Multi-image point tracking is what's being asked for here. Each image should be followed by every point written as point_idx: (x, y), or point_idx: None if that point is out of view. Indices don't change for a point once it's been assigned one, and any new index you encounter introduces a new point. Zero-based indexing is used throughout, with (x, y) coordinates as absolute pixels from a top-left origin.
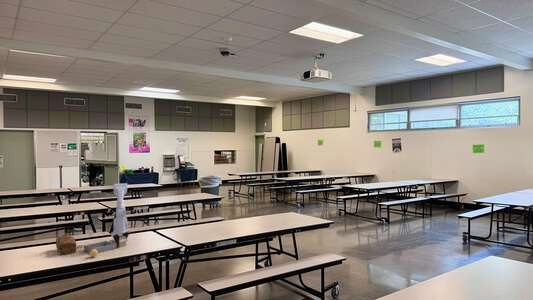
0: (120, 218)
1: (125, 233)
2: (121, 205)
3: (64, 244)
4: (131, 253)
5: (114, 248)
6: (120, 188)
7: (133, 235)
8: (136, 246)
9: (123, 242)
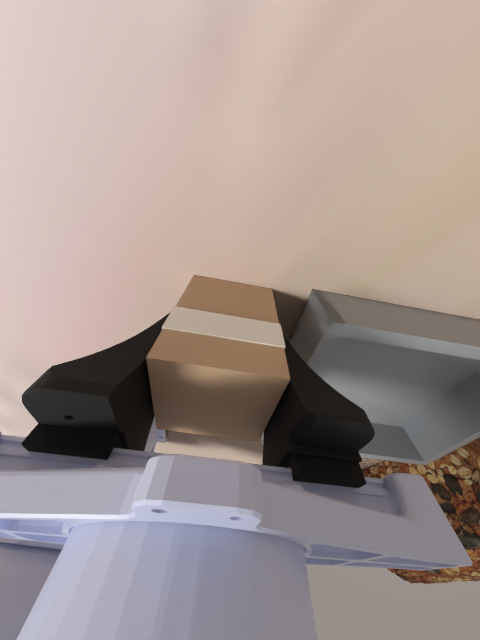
0: None
1: (106, 433)
2: None
3: None
4: None
5: (342, 296)
6: None
7: (8, 421)
8: (111, 85)
9: (220, 305)
